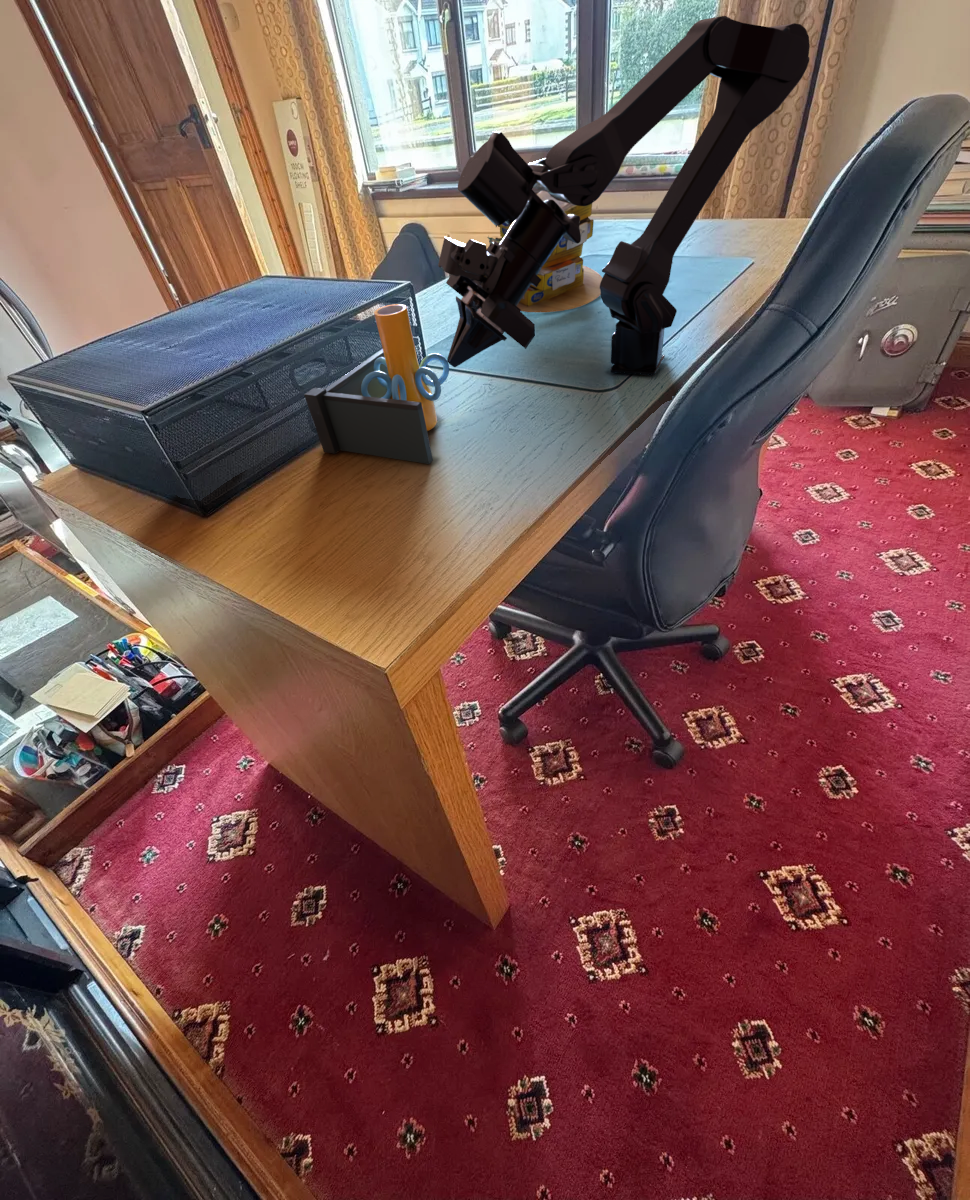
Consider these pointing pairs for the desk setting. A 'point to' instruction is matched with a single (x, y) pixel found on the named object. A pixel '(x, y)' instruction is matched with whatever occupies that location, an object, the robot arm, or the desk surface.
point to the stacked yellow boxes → (562, 269)
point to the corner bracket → (368, 418)
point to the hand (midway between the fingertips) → (450, 364)
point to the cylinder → (405, 363)
